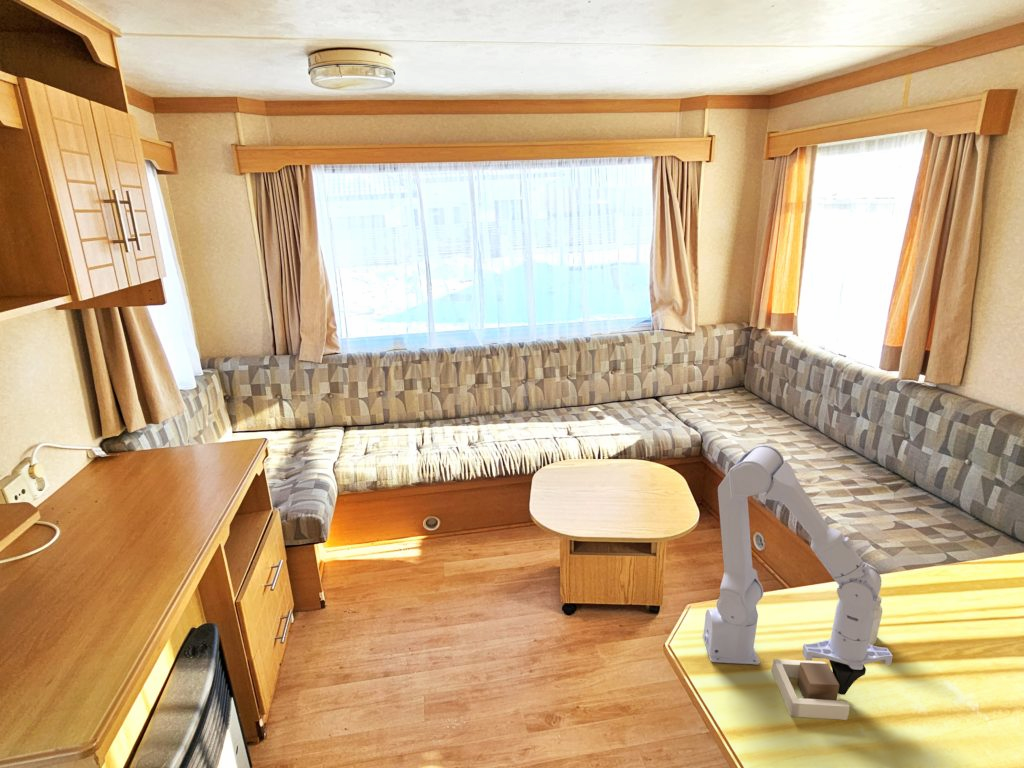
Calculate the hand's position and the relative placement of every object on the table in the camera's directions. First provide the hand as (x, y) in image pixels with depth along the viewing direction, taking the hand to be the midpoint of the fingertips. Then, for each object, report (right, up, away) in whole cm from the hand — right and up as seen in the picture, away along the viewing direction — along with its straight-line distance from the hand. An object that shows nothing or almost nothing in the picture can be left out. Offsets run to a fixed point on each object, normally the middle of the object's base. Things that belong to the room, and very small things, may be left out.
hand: (839, 690), depth 108 cm
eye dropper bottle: (+13, +3, +14) cm, 20 cm away
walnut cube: (-4, -1, +1) cm, 4 cm away
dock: (-5, -1, +1) cm, 6 cm away
